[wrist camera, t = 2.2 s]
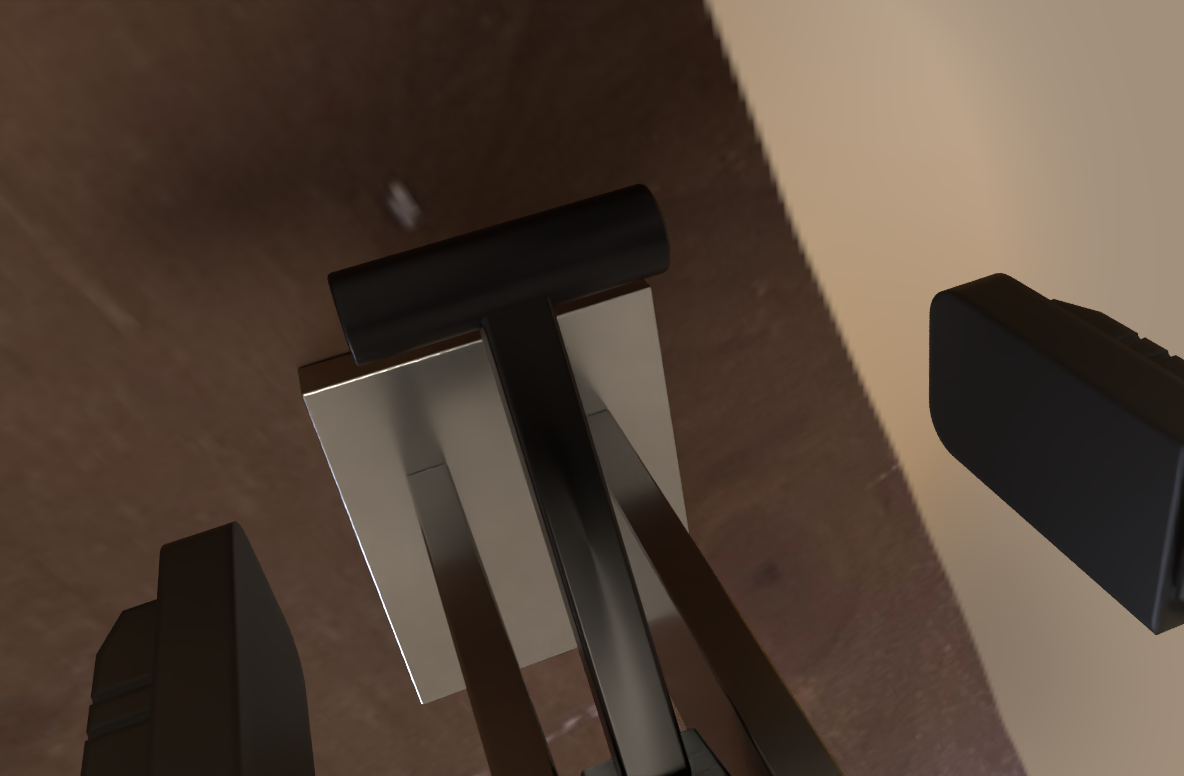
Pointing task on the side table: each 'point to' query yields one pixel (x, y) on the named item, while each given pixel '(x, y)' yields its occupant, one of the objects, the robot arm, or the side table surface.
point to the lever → (548, 425)
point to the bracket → (541, 538)
